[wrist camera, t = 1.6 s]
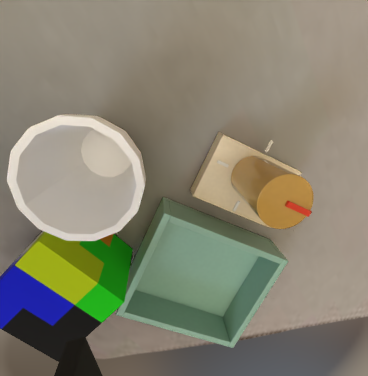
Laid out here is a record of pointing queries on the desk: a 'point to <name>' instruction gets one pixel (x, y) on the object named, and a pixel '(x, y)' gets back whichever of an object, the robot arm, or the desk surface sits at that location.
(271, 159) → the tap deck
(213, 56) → the desk surface
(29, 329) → the puzzle toy
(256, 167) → the tap handle
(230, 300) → the basin
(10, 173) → the foam cup
